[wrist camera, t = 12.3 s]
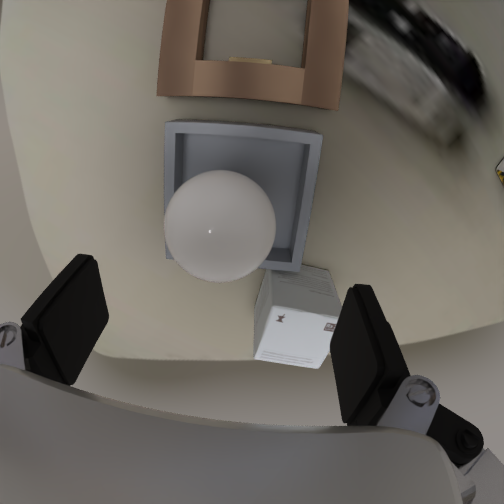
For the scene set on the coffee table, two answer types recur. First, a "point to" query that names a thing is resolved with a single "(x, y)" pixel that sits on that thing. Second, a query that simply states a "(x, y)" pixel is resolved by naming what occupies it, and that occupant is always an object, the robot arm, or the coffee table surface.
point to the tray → (252, 172)
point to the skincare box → (295, 317)
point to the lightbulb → (219, 226)
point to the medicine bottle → (501, 171)
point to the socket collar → (254, 70)
